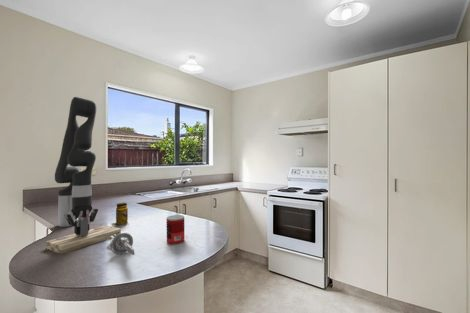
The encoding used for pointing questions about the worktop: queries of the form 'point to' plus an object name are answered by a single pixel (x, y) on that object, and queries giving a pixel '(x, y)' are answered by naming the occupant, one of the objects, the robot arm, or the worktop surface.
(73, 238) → the wooden board
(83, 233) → the fader knob
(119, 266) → the worktop surface
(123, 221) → the condiment
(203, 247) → the worktop surface
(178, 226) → the canned food
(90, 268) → the worktop surface
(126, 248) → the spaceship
